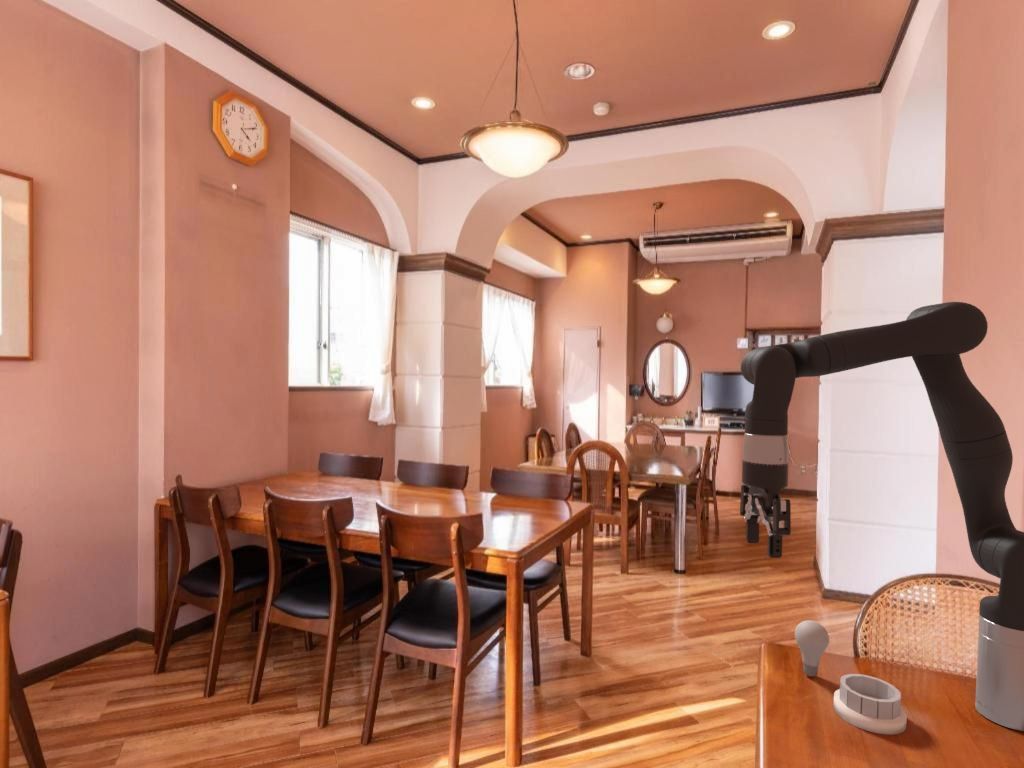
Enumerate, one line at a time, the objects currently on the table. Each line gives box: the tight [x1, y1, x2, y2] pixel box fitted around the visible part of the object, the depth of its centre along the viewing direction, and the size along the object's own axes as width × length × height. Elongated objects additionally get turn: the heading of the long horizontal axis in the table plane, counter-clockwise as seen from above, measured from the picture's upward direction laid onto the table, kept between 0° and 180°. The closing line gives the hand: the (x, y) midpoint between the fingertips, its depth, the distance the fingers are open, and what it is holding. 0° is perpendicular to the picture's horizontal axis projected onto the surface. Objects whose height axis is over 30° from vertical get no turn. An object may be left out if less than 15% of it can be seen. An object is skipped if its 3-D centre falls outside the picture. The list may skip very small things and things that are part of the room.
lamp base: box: [832, 673, 908, 736], centre depth 104 cm, size 11×11×5 cm
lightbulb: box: [794, 619, 830, 678], centre depth 117 cm, size 6×6×11 cm
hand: (762, 549), depth 105 cm, fingers open, 8 cm apart
